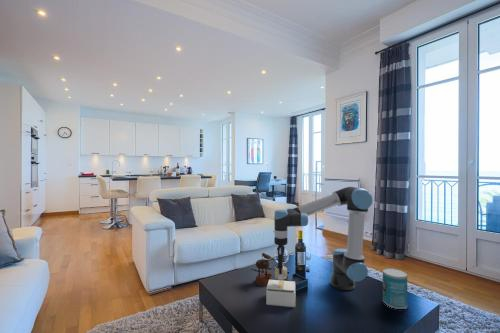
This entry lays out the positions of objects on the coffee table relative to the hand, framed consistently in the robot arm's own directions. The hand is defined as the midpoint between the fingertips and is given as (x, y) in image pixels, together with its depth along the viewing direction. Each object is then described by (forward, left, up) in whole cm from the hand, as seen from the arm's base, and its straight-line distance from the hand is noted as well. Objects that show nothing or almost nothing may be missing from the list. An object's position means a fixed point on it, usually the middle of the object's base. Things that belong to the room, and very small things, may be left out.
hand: (280, 276), depth 148 cm
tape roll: (0, 0, 0) cm, 0 cm away
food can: (-63, -7, -14) cm, 65 cm away
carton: (0, 0, -14) cm, 14 cm away
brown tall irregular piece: (+14, -21, -14) cm, 29 cm away
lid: (0, 0, -5) cm, 5 cm away
